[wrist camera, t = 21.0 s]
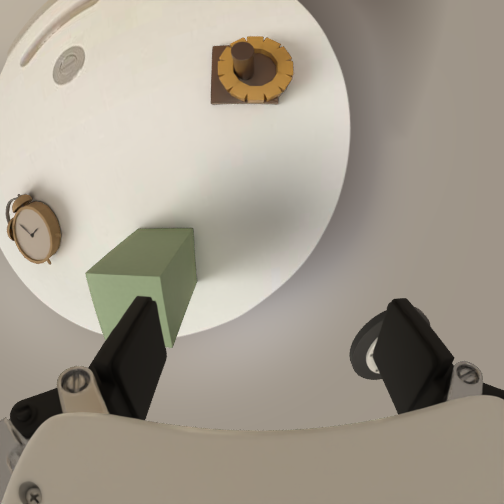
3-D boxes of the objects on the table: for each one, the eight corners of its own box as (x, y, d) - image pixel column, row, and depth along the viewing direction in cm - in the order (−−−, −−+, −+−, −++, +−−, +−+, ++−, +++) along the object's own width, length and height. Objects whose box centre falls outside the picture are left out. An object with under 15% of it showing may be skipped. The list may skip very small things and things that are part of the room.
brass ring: (290, 42, 29) (292, 37, 27) (291, 103, 32) (293, 101, 30) (219, 42, 29) (218, 37, 27) (219, 103, 32) (217, 101, 30)
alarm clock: (45, 275, 40) (-6, 234, 34) (55, 262, 44) (7, 224, 38) (60, 230, 37) (5, 186, 31) (72, 219, 41) (20, 178, 35)
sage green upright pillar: (193, 228, 40) (160, 276, 25) (197, 282, 43) (172, 347, 28) (138, 228, 40) (85, 273, 25) (145, 280, 43) (104, 339, 28)
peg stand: (277, 48, 30) (285, 19, 20) (277, 104, 33) (286, 89, 24) (213, 48, 30) (201, 19, 20) (211, 104, 33) (197, 90, 24)
